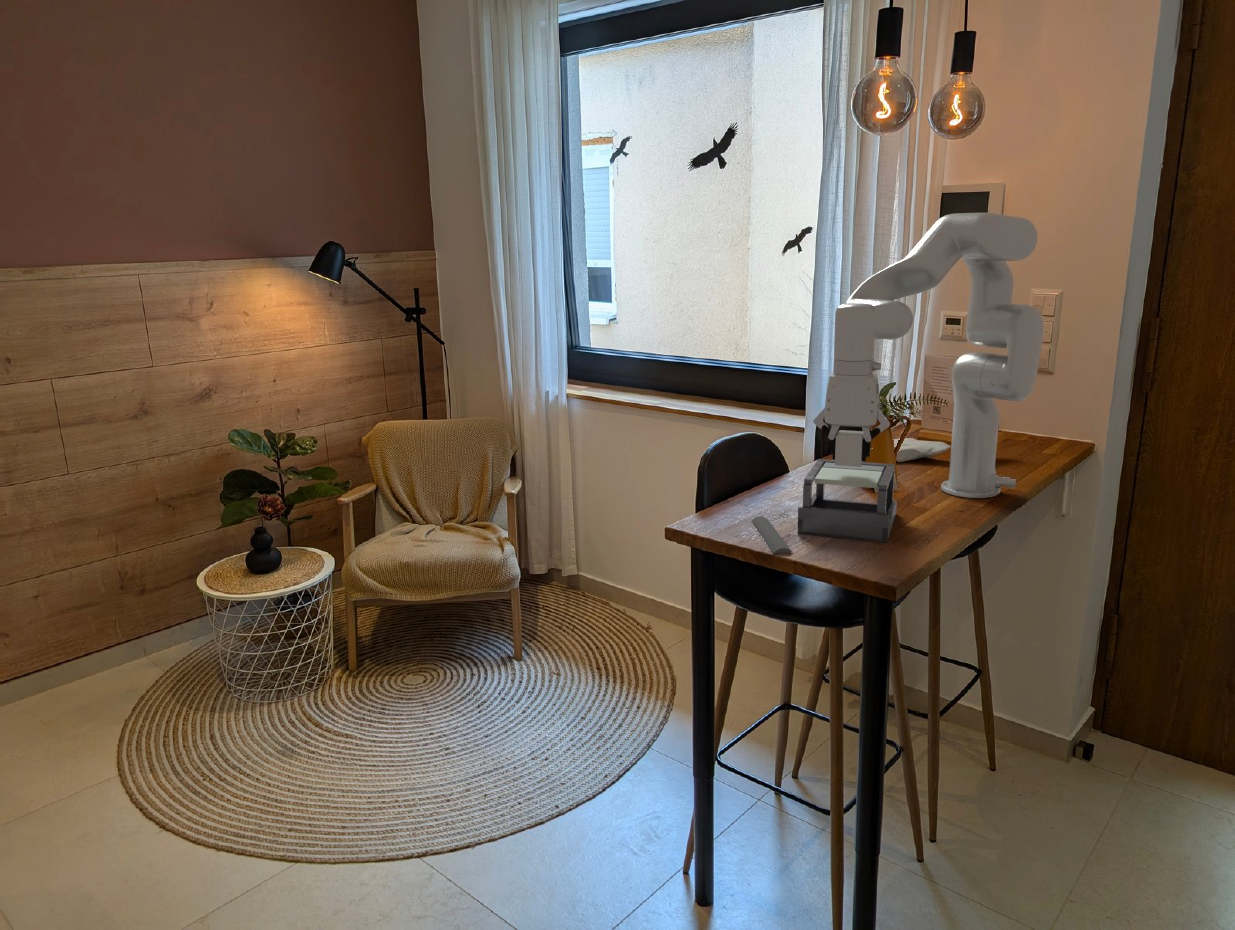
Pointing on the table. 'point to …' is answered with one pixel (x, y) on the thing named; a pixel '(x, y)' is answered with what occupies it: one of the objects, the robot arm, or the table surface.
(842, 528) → the trapdoor frame
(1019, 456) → the table surface
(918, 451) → the rock
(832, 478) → the trapdoor
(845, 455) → the matte off-white cube
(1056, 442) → the table surface
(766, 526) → the gray half cylinder
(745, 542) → the table surface
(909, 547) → the table surface
